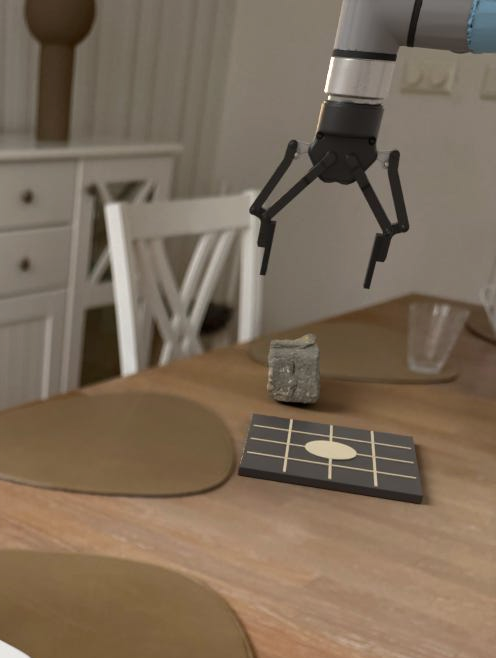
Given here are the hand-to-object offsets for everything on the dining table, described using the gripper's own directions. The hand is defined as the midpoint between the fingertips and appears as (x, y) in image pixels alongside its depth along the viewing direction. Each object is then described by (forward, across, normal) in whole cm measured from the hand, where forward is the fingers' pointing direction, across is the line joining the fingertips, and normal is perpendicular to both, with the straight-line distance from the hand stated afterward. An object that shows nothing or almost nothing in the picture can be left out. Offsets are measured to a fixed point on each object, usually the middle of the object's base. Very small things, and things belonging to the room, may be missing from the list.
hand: (314, 280), depth 131 cm
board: (+15, -6, +25) cm, 30 cm away
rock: (+16, 0, 0) cm, 16 cm away
